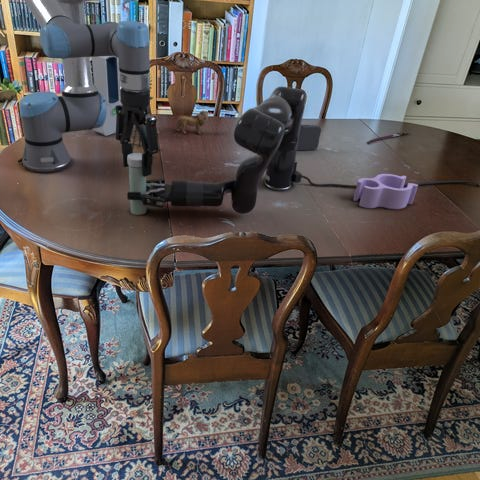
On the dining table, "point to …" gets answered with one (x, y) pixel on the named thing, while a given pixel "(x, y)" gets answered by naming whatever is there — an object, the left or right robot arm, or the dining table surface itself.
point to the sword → (386, 137)
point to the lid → (134, 159)
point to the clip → (384, 192)
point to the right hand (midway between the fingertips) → (128, 191)
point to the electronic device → (107, 89)
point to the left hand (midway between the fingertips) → (137, 170)
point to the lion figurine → (193, 121)
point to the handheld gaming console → (309, 137)
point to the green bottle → (137, 189)
